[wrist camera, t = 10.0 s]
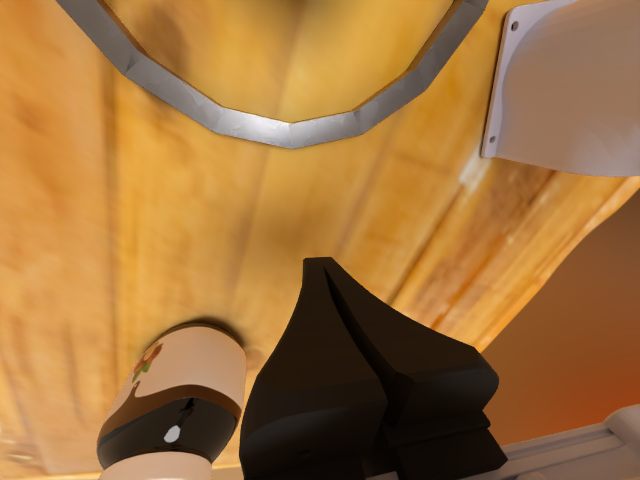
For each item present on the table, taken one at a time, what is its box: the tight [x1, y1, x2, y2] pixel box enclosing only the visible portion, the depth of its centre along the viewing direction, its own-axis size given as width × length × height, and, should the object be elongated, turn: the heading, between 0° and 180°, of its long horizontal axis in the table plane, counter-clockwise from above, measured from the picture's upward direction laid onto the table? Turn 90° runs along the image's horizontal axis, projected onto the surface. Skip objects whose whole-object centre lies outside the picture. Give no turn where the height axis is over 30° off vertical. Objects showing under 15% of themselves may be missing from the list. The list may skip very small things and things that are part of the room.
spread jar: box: [96, 323, 247, 480], centre depth 21 cm, size 12×11×12 cm
